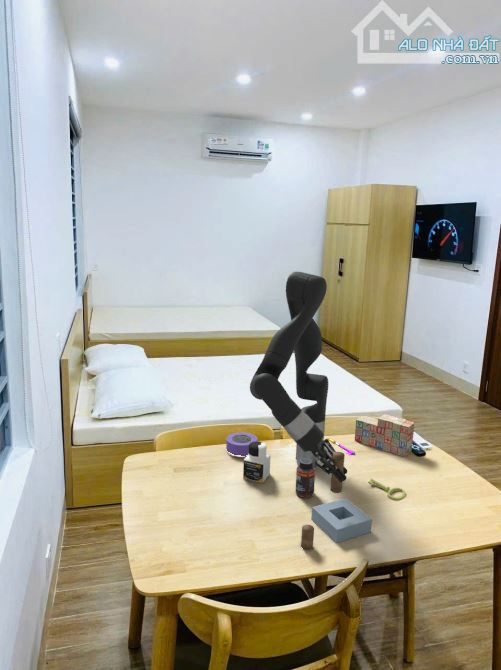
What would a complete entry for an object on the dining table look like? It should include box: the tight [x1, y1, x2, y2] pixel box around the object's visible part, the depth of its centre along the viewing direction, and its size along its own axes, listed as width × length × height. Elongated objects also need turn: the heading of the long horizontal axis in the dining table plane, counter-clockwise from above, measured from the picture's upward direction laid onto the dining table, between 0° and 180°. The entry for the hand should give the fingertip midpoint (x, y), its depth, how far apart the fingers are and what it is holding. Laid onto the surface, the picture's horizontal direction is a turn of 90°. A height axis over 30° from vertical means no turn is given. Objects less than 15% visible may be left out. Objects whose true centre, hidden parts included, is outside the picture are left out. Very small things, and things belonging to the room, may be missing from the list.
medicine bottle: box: [242, 440, 271, 484], centre depth 167 cm, size 7×7×12 cm
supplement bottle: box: [295, 458, 316, 498], centre depth 157 cm, size 6×6×11 cm
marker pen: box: [326, 437, 356, 456], centre depth 193 cm, size 3×1×16 cm
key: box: [367, 478, 407, 501], centre depth 160 cm, size 7×12×2 cm, turn 62°
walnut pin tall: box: [329, 451, 346, 494], centre depth 138 cm, size 3×3×11 cm
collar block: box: [311, 497, 373, 544], centre depth 141 cm, size 12×12×4 cm
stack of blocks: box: [354, 413, 415, 458], centre depth 193 cm, size 21×6×12 cm, turn 51°
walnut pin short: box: [300, 524, 315, 551], centre depth 131 cm, size 3×3×6 cm
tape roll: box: [225, 432, 258, 456], centre depth 187 cm, size 12×12×5 cm
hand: (344, 476), depth 138 cm, fingers closed on walnut pin tall, 3 cm apart
